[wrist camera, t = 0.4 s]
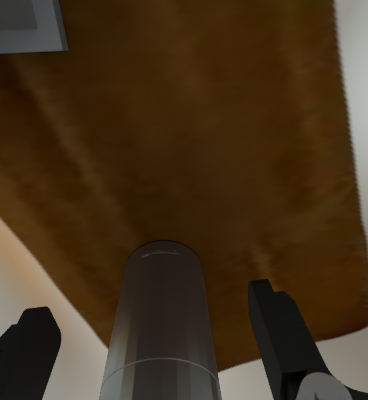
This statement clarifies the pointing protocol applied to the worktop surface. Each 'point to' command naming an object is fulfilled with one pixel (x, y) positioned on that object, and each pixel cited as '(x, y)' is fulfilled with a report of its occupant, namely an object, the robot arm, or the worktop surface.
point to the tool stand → (31, 26)
